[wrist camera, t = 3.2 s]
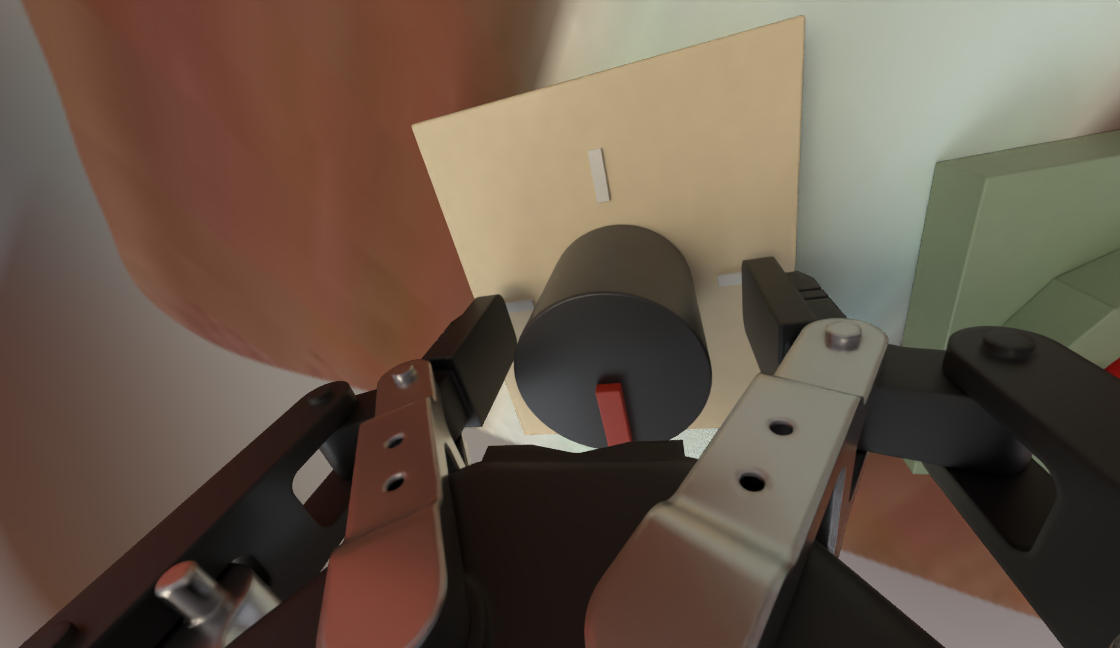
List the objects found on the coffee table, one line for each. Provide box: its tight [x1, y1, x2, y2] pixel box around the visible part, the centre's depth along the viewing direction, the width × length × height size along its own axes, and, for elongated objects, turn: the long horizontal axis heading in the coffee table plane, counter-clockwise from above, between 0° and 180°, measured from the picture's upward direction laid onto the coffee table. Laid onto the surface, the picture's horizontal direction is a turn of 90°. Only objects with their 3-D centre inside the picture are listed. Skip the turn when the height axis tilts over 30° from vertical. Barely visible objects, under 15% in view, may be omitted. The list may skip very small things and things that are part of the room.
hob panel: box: [412, 15, 805, 435], centre depth 14 cm, size 12×10×3 cm
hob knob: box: [514, 225, 712, 449], centre depth 11 cm, size 4×4×5 cm
